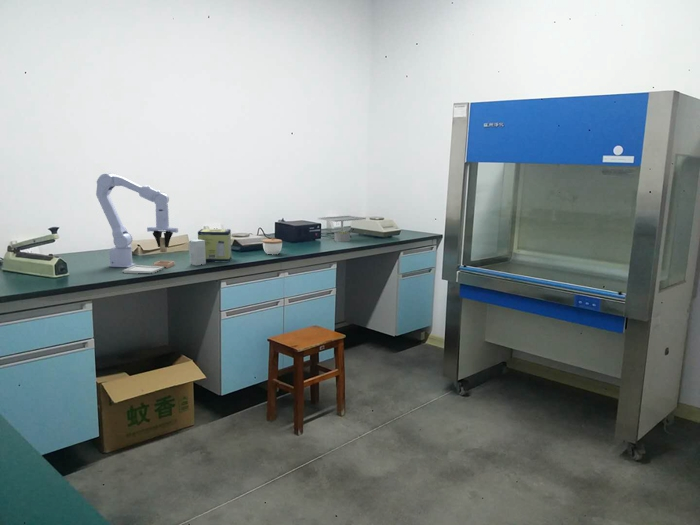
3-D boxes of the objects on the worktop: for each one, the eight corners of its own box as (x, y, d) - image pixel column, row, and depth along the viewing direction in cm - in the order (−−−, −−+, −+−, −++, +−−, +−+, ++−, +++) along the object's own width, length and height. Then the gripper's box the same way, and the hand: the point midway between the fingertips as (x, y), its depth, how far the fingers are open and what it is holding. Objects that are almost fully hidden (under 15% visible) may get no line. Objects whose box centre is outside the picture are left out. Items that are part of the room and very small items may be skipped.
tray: (122, 272, 253) (122, 270, 253) (135, 267, 265) (135, 265, 264) (152, 274, 251) (152, 271, 251) (163, 269, 263) (163, 266, 263)
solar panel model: (347, 237, 384) (348, 215, 381) (365, 240, 372) (366, 217, 369) (317, 240, 365) (317, 217, 362) (334, 243, 353) (335, 220, 350)
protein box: (201, 258, 293) (200, 228, 291) (231, 258, 295) (231, 229, 292) (198, 261, 283) (197, 231, 280) (229, 262, 285) (228, 231, 282)
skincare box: (200, 262, 280) (200, 239, 278) (206, 264, 278) (205, 240, 276) (190, 264, 276) (189, 240, 274) (195, 265, 273) (195, 241, 271)
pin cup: (153, 267, 267) (153, 263, 267) (160, 264, 274) (159, 260, 274) (168, 267, 266) (168, 264, 266) (174, 264, 274) (174, 261, 273)
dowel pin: (159, 252, 268) (158, 237, 267) (161, 251, 271) (161, 236, 269) (165, 252, 267) (164, 238, 266) (167, 251, 270) (167, 237, 269)
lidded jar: (259, 253, 312) (258, 236, 310) (275, 251, 318) (275, 235, 317) (269, 256, 304) (269, 239, 302) (285, 254, 311) (286, 237, 309)
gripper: (143, 218, 263) (144, 247, 265) (173, 220, 262) (174, 248, 264) (150, 217, 270) (151, 245, 272) (179, 218, 268) (180, 246, 271)
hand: (163, 246), depth 269 cm, fingers closed on dowel pin, 3 cm apart
